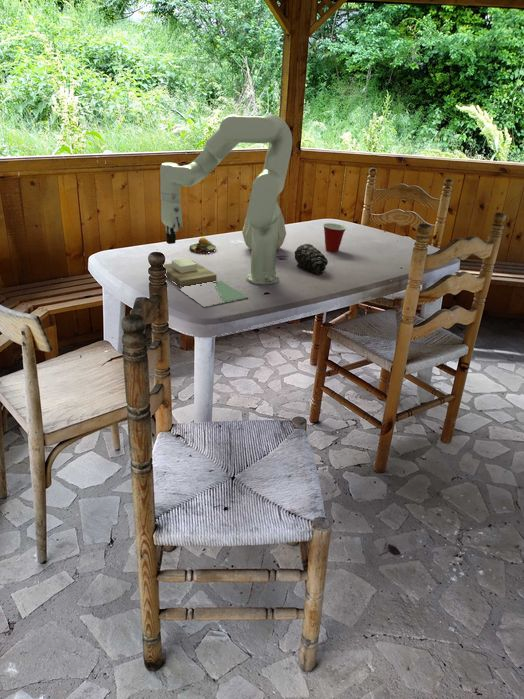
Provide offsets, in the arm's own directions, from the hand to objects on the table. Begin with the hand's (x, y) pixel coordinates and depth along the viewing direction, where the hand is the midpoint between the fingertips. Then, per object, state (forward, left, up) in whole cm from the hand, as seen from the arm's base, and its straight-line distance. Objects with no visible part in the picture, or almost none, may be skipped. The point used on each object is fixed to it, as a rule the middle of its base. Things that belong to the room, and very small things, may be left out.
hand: (171, 243), depth 221 cm
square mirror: (-33, 0, -11) cm, 35 cm away
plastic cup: (-11, -76, -11) cm, 78 cm away
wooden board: (-12, 0, -11) cm, 16 cm away
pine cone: (-28, -51, -11) cm, 59 cm away
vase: (+5, -48, -11) cm, 50 cm away
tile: (-10, 0, -8) cm, 13 cm away
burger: (+17, -23, -11) cm, 31 cm away
